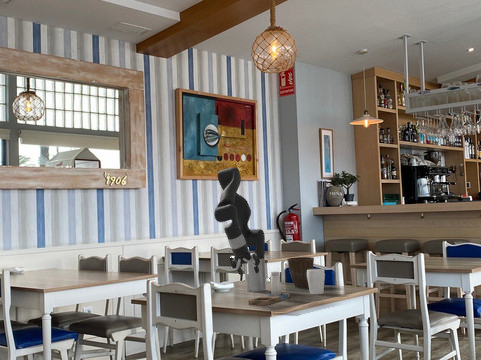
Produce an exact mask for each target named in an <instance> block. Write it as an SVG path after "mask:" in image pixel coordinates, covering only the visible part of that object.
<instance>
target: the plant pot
mask: <svg viewBox="0 0 481 360" xmlns="http://www.w3.org/2000/svg"><path fill="white" fill-rule="evenodd" d="M286 260H287V265H288V270H289V274H290V277H291V280H292V282H293V285H294V287H295V288H296V289H306V288H309V285H308V279H307V270H309V269H314V263H315V257H310V256H309V257H308V256H303V257H302V256H301V257H300V256H299V257H290V258H287V259H286Z"/></svg>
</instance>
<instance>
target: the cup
mask: <svg viewBox="0 0 481 360" xmlns="http://www.w3.org/2000/svg"><path fill="white" fill-rule="evenodd" d="M325 277H326V274H325V269H324V268H313V269H309V270H307V279H308V285H309V287H308V288H309V289H308V290H309V293H310V295H323V294H324V289H325Z"/></svg>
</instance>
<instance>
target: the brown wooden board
mask: <svg viewBox="0 0 481 360" xmlns="http://www.w3.org/2000/svg"><path fill="white" fill-rule="evenodd" d="M280 293H281V296H271V293H269V294H264V295H262V296H258V297H255V298H252V299H249V300H247V301H248V302H247V303H248V305H249V306H250V305H251V306H268V305H271V304H275V303H277V302H279V301H283V300H286V299H290V298H291V293H289V292H288V293H287V292H280Z"/></svg>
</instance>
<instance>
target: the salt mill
mask: <svg viewBox="0 0 481 360" xmlns="http://www.w3.org/2000/svg"><path fill="white" fill-rule="evenodd" d="M281 293H282V292H281V276H280V274H279V271H271V272H270V294H271V296H281Z"/></svg>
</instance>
